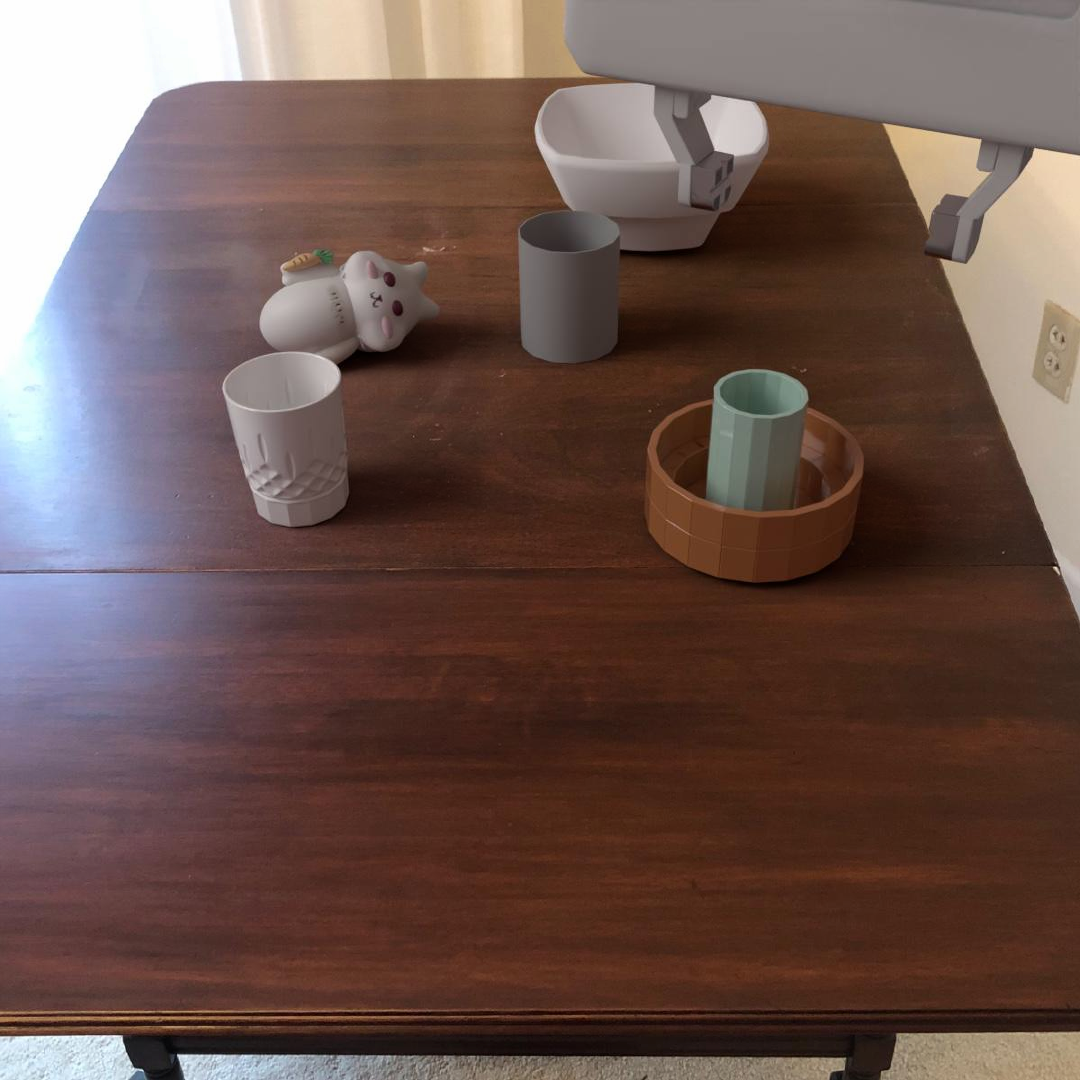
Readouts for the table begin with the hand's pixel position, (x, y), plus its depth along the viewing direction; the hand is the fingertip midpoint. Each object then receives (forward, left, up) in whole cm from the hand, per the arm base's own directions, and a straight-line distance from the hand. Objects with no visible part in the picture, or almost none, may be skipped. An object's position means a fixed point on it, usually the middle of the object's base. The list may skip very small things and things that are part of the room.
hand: (821, 228), depth 45 cm
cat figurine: (+56, -12, -33) cm, 66 cm away
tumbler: (+17, -19, -32) cm, 41 cm away
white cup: (+40, +3, -33) cm, 52 cm away
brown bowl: (+17, -19, -33) cm, 42 cm away
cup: (+45, -27, -33) cm, 62 cm away
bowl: (+56, -47, -33) cm, 80 cm away
